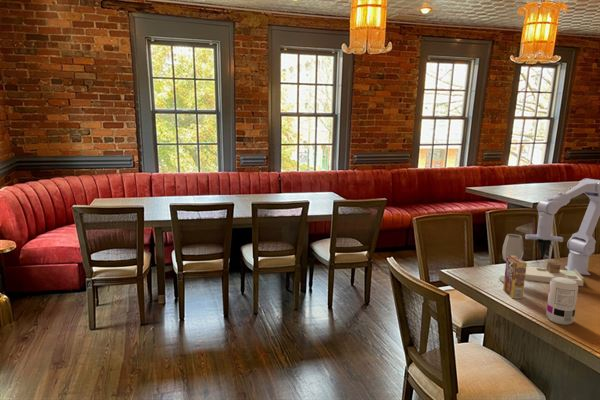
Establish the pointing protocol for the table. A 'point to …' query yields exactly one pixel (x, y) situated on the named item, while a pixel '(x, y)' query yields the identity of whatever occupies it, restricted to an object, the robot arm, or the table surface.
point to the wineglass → (512, 248)
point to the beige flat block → (551, 275)
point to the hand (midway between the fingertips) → (541, 255)
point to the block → (553, 267)
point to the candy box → (514, 277)
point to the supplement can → (562, 300)
